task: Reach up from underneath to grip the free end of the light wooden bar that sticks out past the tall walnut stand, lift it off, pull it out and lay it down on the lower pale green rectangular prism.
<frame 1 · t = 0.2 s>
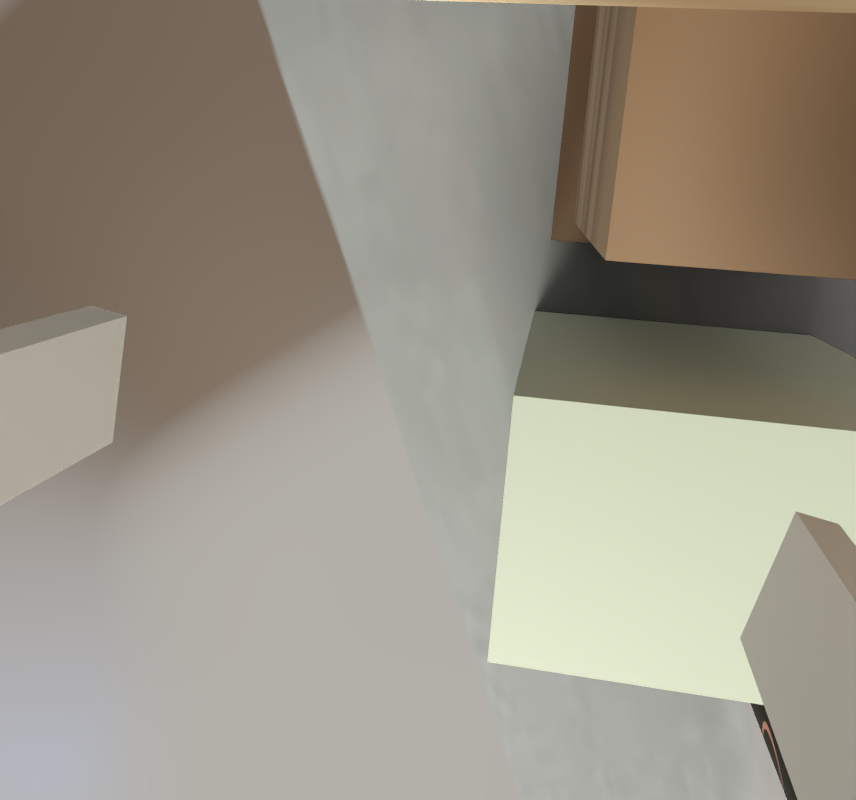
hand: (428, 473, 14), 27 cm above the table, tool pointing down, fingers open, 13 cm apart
pale green rectangular prism: (657, 405, 41), on the table
stand: (688, 123, 37), on the table
coffee jar: (829, 634, 42), on the table
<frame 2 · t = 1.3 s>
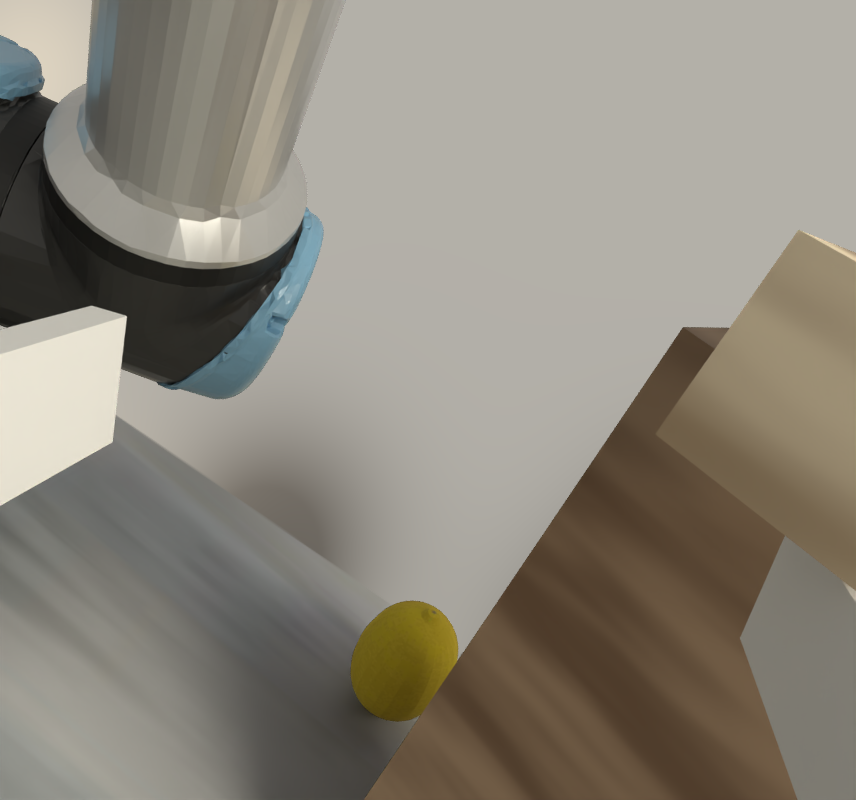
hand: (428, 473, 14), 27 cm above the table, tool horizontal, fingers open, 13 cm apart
lemon: (373, 708, 44), on the table
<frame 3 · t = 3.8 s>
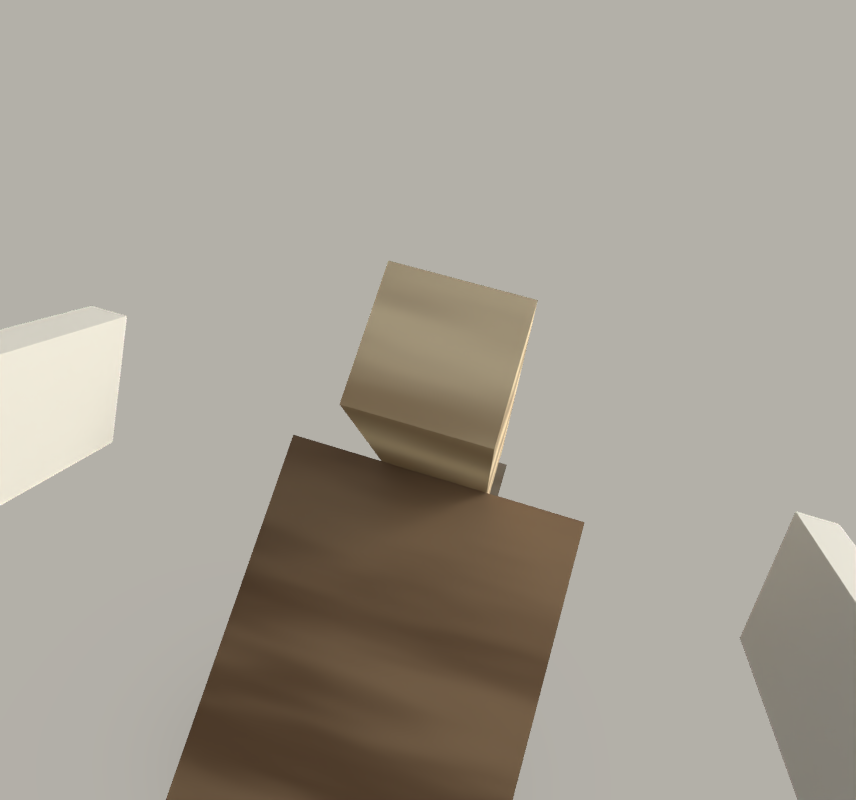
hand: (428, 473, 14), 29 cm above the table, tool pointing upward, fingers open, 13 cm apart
light wooden bar: (436, 483, 27), point 30 cm above the table, touching stand
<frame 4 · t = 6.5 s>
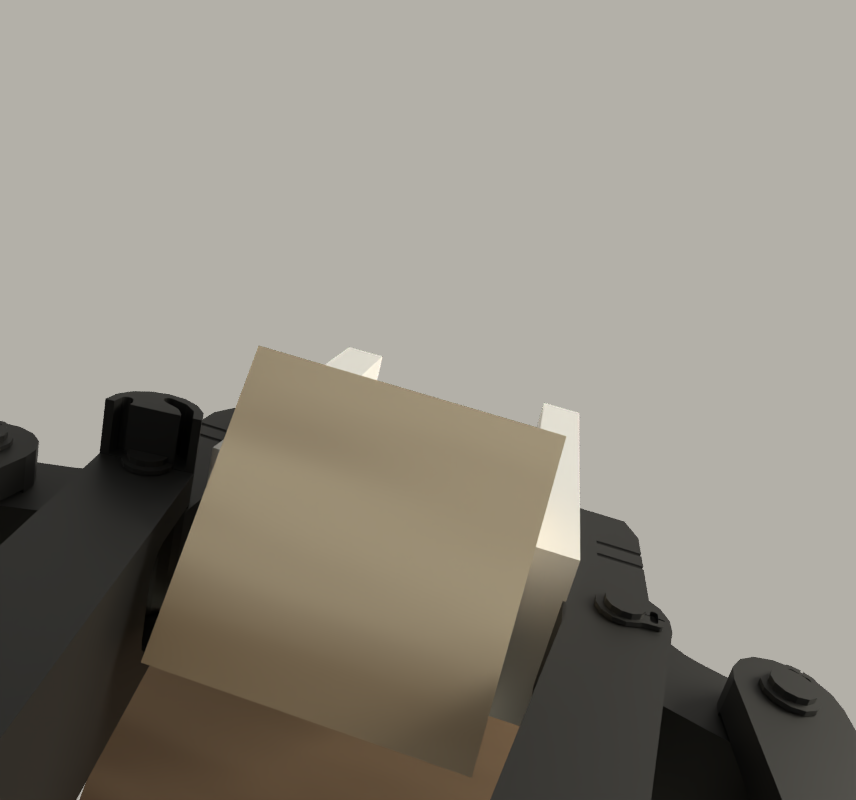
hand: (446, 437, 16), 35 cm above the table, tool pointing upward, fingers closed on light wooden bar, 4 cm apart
light wooden bar: (391, 637, 17), point 30 cm above the table, touching gripper, stand
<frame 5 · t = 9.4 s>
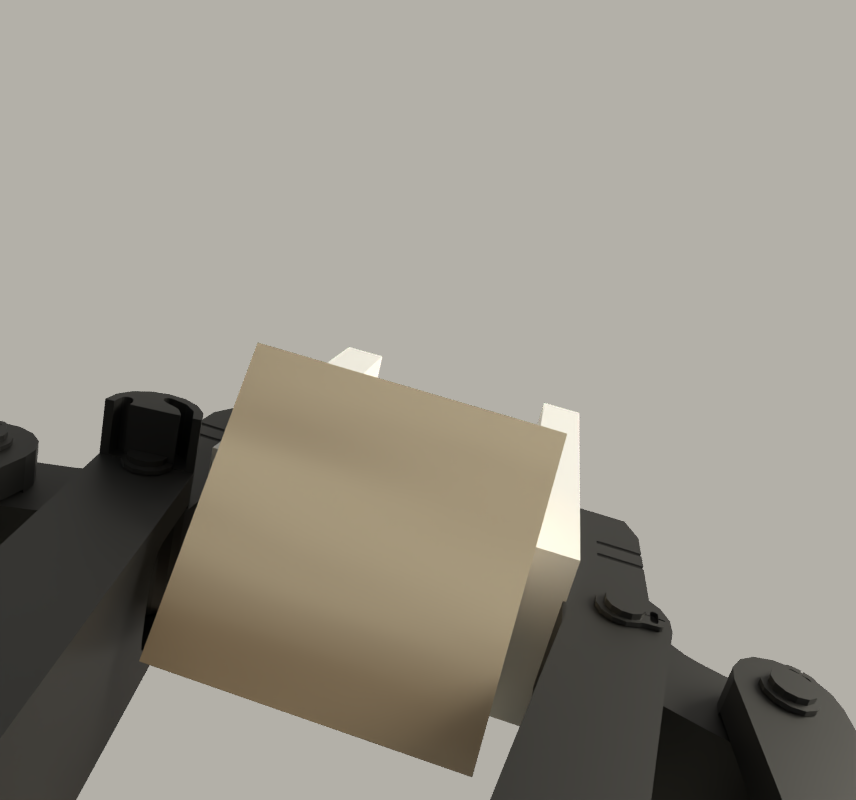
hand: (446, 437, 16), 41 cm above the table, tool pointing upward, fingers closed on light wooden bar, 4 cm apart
light wooden bar: (390, 636, 17), point 36 cm above the table, touching gripper
when the fingers open (25 cm above the table, at t = 12.7 s): light wooden bar drops 1 cm, resting on pale green rectangular prism.
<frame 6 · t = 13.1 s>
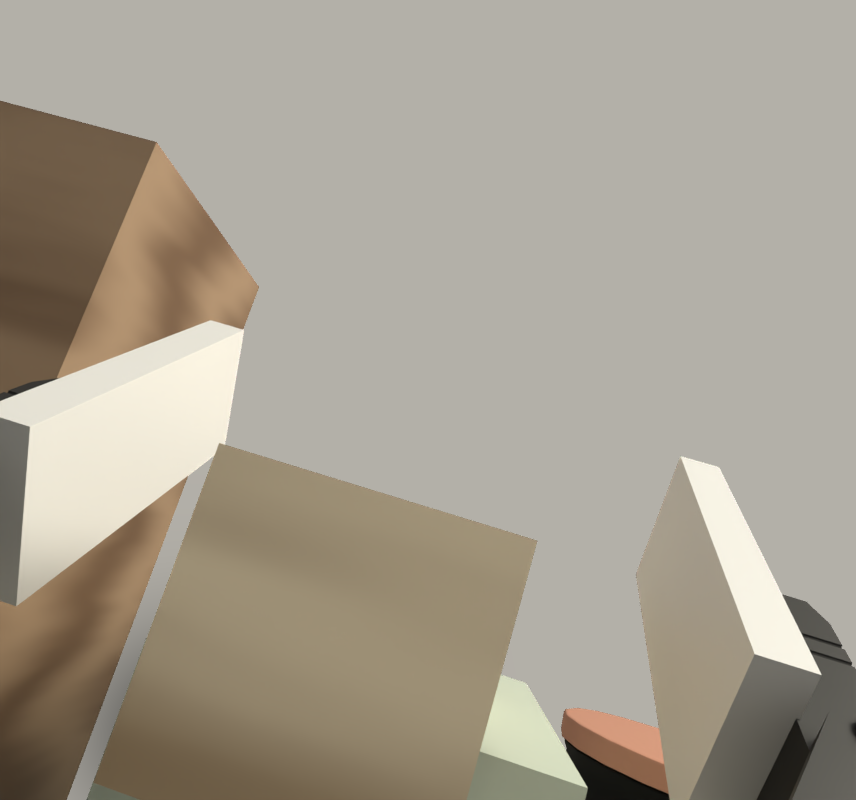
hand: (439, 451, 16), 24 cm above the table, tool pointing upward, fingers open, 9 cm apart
light wooden bar: (375, 691, 17), point 19 cm above the table, touching pale green rectangular prism
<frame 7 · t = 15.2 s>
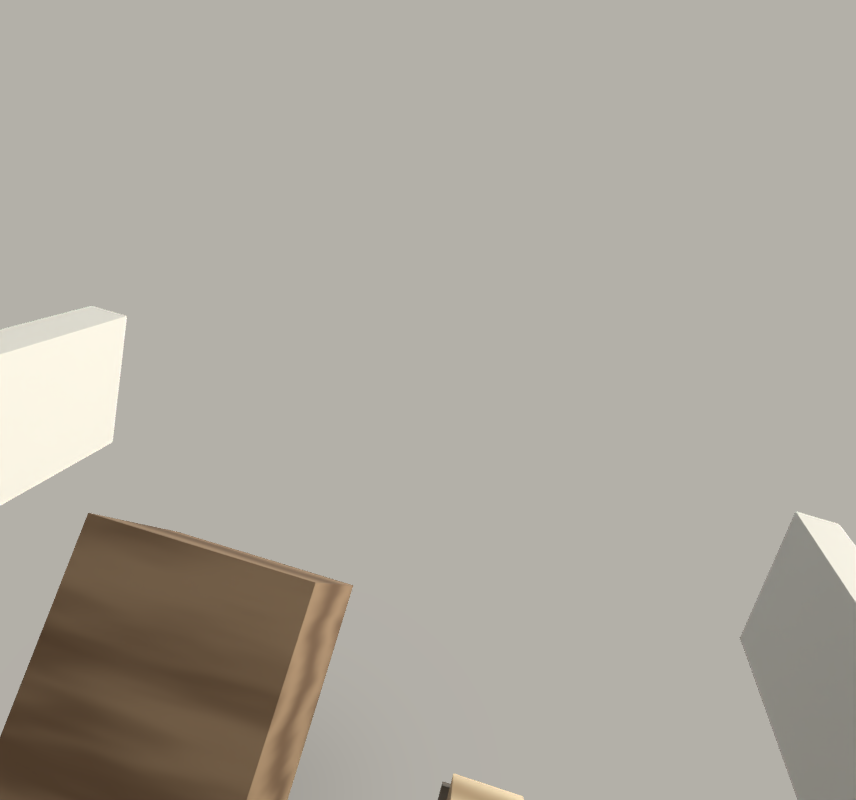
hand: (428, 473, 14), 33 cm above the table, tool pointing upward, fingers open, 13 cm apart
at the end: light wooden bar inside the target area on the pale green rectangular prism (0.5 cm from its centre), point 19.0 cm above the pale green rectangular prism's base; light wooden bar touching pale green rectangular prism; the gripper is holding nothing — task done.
